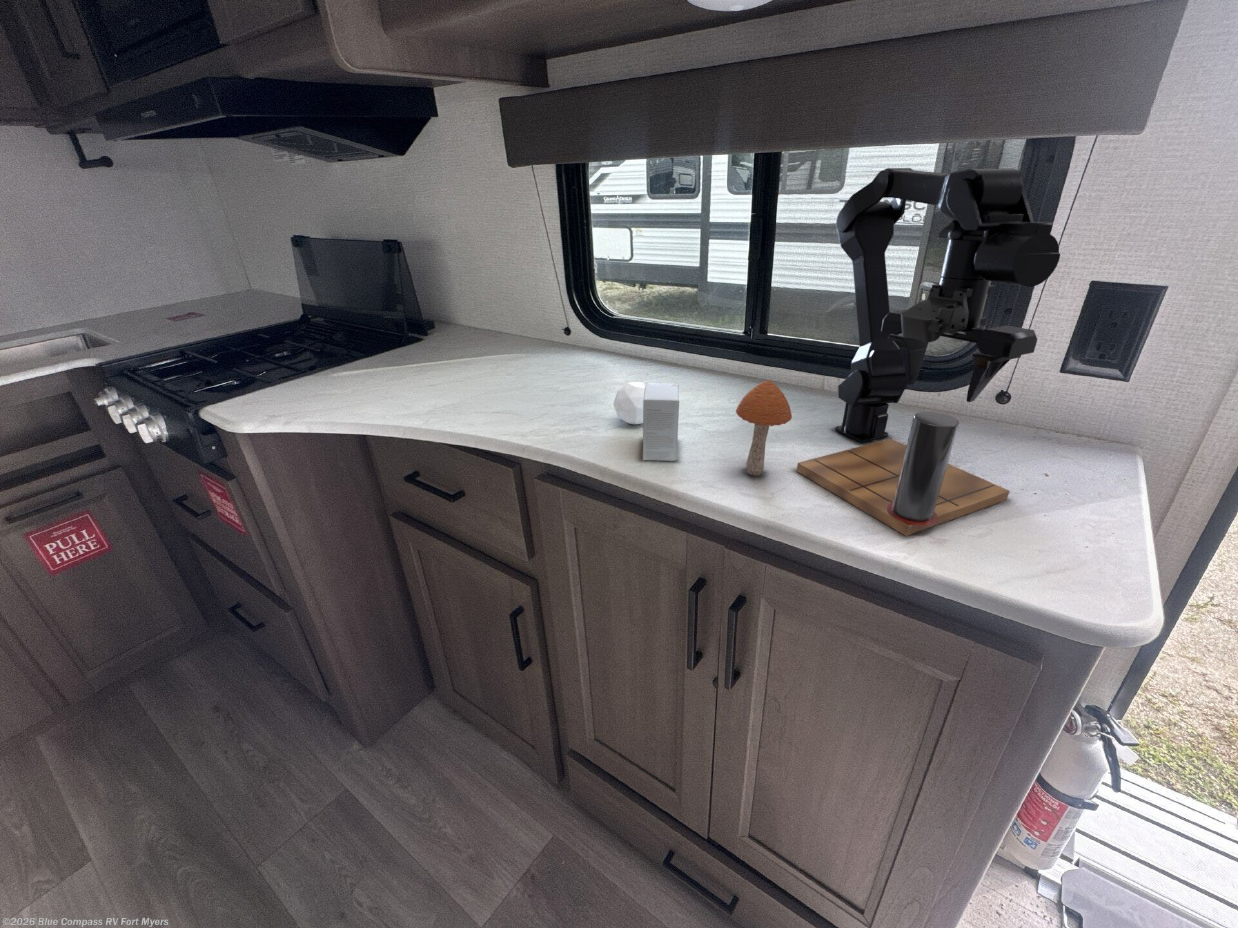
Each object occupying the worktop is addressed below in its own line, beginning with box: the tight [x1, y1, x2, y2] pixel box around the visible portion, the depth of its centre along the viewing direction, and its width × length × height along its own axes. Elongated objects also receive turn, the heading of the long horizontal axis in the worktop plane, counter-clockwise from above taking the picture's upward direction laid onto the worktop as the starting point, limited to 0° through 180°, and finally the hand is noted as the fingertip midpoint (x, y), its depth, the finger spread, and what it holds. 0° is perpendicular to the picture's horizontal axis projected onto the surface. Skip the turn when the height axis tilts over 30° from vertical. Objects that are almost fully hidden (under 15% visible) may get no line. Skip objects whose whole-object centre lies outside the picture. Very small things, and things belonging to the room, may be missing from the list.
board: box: [796, 438, 1011, 537], centre depth 82 cm, size 21×20×2 cm
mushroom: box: [735, 379, 793, 477], centre depth 83 cm, size 8×8×15 cm
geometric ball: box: [613, 382, 646, 425], centre depth 104 cm, size 8×8×8 cm
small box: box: [642, 382, 680, 462], centre depth 92 cm, size 8×6×10 cm
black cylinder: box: [892, 411, 960, 522], centre depth 70 cm, size 5×5×13 cm
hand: (938, 392), depth 80 cm, fingers open, 9 cm apart
